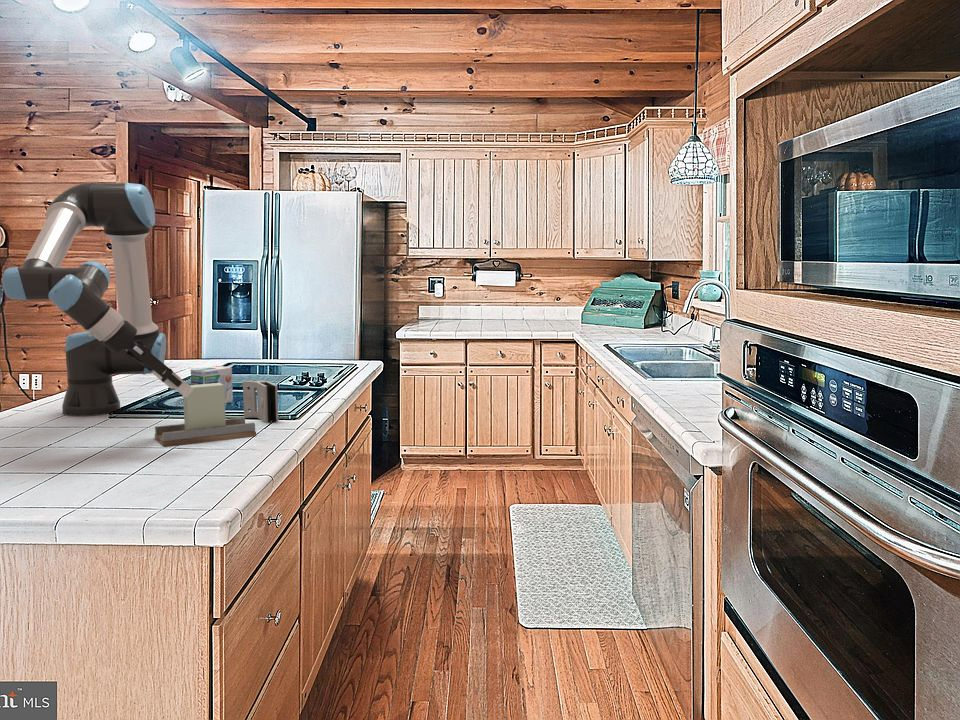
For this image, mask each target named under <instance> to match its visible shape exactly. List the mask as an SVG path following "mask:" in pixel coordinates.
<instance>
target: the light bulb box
mask: <svg viewBox="0 0 960 720" xmlns="http://www.w3.org/2000/svg"><path fill="white" fill-rule="evenodd" d="M211 383H221V384H223V385H224V394H225V404H227V403H233V402H234V401H233V399H234V398H233V397H234V396H233V395H234V394H233V367H230V366H223V365H214V366H207V367H206V366H205V367H199V368H192V369H190V385H199V384H211Z"/></svg>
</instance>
